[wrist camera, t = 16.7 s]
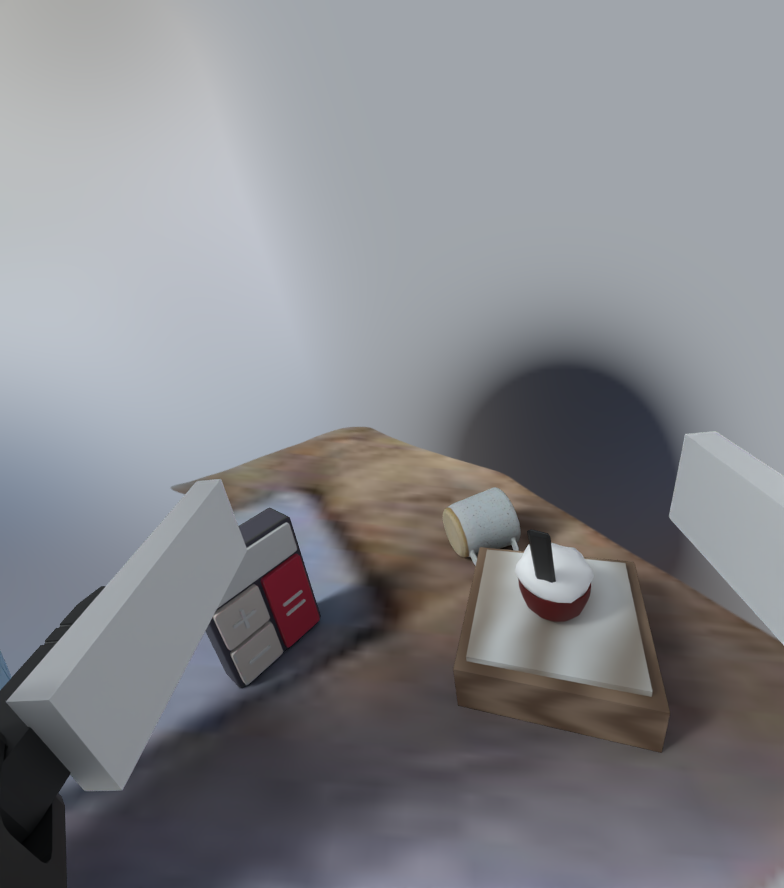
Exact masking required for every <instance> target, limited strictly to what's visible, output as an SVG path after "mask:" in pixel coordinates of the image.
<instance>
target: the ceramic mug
mask: <svg viewBox="0 0 784 888" xmlns="http://www.w3.org/2000/svg"><path fill="white" fill-rule="evenodd" d="M443 524H444V528H445V531H446V534H447V537H448V539H449V542H450V544H451V545H452V547H453V549H454V550H455V552H456V553H457V554H458V555H459V556H461V557H463V558H467V557H471V558H472V561H473V563H474V564H475V566H476V562H477V556H478V553H479V548H480V547H484V548H494V549H500V548H503V547H507V546H509V545H512V547H513V550H515V551H519V548H518V545H517V542H518V541H519V539H520V534H521V530H520V523H519V520H518V517H517V514H516V511H515V509H514V507H513V505H512V504H511V502H510V500H509V499H508V497H507V496H506V495H505V493H504V492H503V491H502V490H500V489H498V488H491V489H489V490H487V491H484V492H481V493H479V494H476V495H474V496H471V497H469V498H466V499H464V500H461V501H459V502H456V503H454V504H452V505H450V506H449V507H447V508H446V509H445V510H444V513H443Z"/></svg>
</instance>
